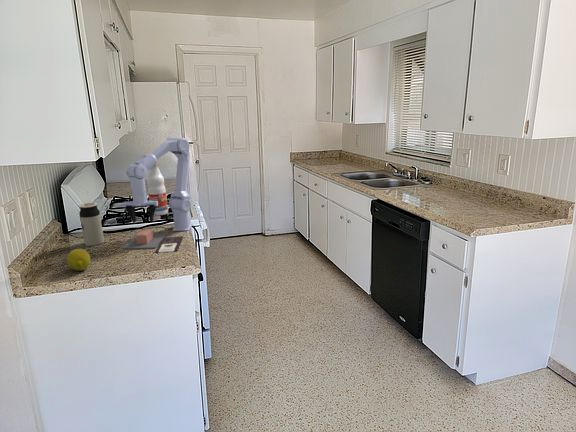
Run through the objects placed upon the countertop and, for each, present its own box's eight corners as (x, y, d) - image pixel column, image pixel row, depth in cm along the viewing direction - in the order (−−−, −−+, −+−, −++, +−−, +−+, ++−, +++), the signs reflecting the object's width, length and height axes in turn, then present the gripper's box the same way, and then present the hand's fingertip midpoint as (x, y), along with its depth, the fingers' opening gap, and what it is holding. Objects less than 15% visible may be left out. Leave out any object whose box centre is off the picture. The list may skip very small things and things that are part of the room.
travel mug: (104, 239, 183) (98, 201, 178) (103, 244, 176) (97, 205, 171) (85, 241, 180) (78, 203, 175) (84, 247, 173) (76, 207, 168)
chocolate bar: (183, 236, 182) (177, 250, 165) (183, 238, 183) (177, 252, 165) (163, 237, 181) (155, 251, 164) (163, 239, 182) (155, 254, 165)
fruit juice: (165, 210, 229) (159, 162, 221) (170, 213, 222) (165, 164, 214) (148, 213, 224) (142, 164, 216) (153, 216, 217) (147, 166, 209)
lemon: (91, 272, 147) (87, 252, 144) (67, 276, 144) (63, 256, 142) (92, 262, 156) (89, 243, 154) (70, 265, 153) (66, 246, 151)
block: (147, 243, 173) (146, 235, 172) (137, 244, 173) (135, 235, 172) (153, 237, 181) (152, 229, 180) (143, 238, 181) (142, 229, 180)
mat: (137, 235, 186) (137, 234, 186) (167, 234, 186) (166, 233, 186) (122, 249, 169) (122, 248, 169) (155, 248, 169) (154, 247, 169)
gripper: (118, 194, 168) (123, 225, 171) (152, 193, 168) (156, 224, 171) (125, 190, 174) (129, 220, 178) (158, 189, 174) (161, 219, 178)
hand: (143, 221), depth 175 cm, fingers open, 7 cm apart
